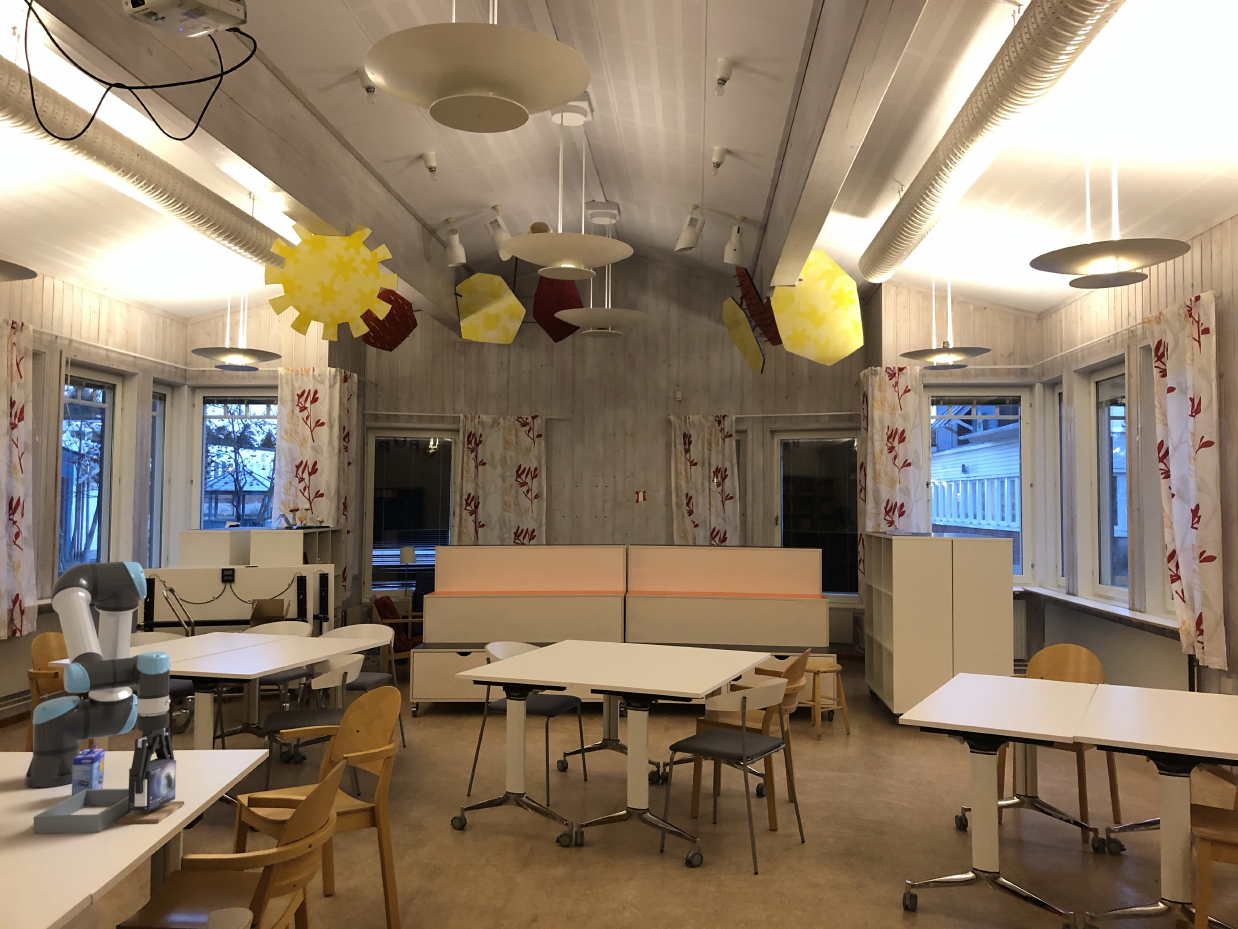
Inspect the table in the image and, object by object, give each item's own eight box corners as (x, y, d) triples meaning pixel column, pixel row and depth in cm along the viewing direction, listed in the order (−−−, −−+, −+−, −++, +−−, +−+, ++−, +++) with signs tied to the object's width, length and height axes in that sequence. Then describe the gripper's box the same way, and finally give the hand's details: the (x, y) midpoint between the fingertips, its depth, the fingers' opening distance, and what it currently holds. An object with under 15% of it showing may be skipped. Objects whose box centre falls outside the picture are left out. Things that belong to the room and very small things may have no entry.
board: (146, 805, 245) (146, 801, 245) (184, 805, 245) (184, 801, 245) (118, 823, 231) (118, 819, 231) (158, 823, 231) (158, 819, 231)
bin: (84, 804, 247) (84, 789, 247) (144, 803, 247) (144, 788, 247) (33, 833, 225) (33, 816, 225) (99, 832, 225) (99, 815, 225)
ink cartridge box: (93, 802, 249) (93, 748, 249) (70, 804, 247) (71, 749, 248) (104, 791, 258) (105, 739, 259) (83, 793, 257) (83, 740, 258)
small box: (149, 812, 232) (149, 770, 233) (126, 811, 234) (127, 769, 234) (177, 799, 243) (177, 758, 243) (155, 797, 244) (155, 757, 245)
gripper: (144, 723, 228) (144, 813, 227) (188, 703, 251) (187, 784, 250) (114, 723, 228) (113, 813, 227) (160, 703, 251) (160, 784, 250)
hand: (152, 798), depth 238 cm, fingers closed on small box, 11 cm apart
